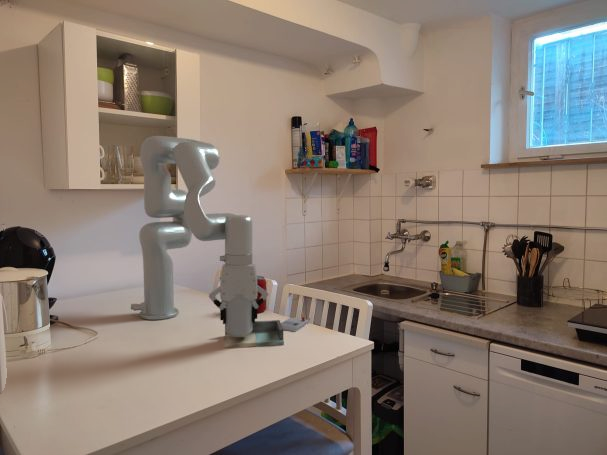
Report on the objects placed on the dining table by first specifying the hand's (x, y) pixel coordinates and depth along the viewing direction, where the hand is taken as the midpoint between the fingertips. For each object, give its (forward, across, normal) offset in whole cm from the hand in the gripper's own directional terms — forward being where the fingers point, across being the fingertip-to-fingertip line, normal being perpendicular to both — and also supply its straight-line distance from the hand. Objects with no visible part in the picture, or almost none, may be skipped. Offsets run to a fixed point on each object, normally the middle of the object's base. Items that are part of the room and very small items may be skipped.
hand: (238, 321), depth 125 cm
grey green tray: (+6, +4, 0) cm, 7 cm away
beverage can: (+6, +7, +31) cm, 32 cm away
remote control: (+7, +18, +12) cm, 23 cm away
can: (+4, 0, 0) cm, 4 cm away
